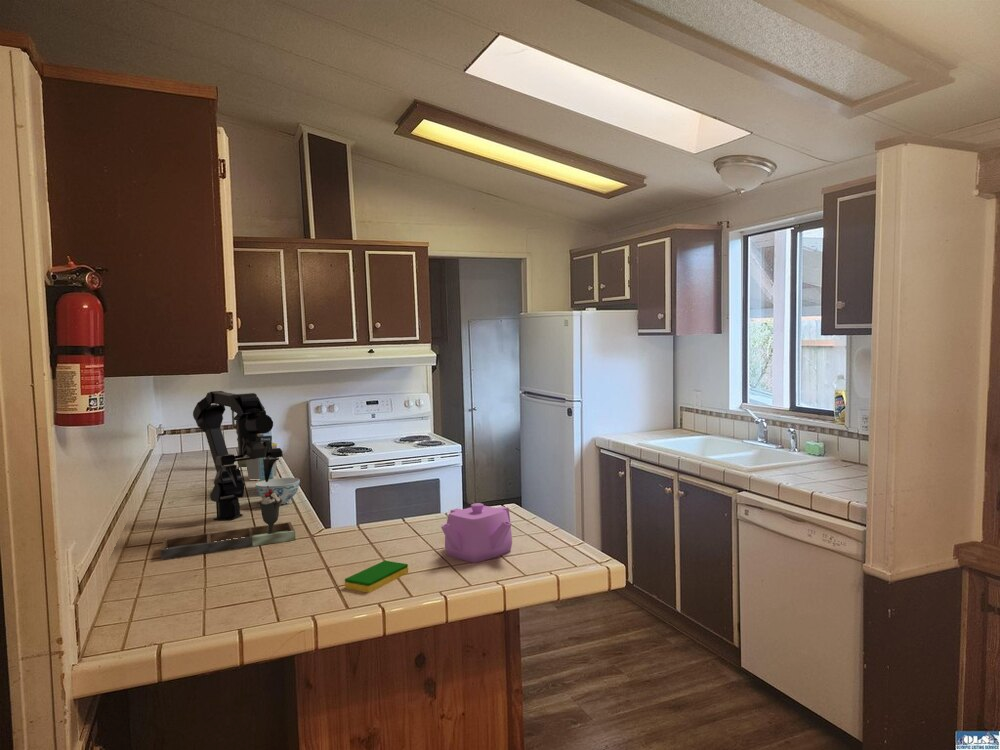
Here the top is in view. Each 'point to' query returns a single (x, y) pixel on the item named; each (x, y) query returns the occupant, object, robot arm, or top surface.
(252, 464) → the soap bottle
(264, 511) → the sundae
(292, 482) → the chinaware
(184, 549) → the tray
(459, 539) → the teakettle
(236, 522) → the top surface
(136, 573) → the top surface
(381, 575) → the dish sponge
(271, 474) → the blue flat box
